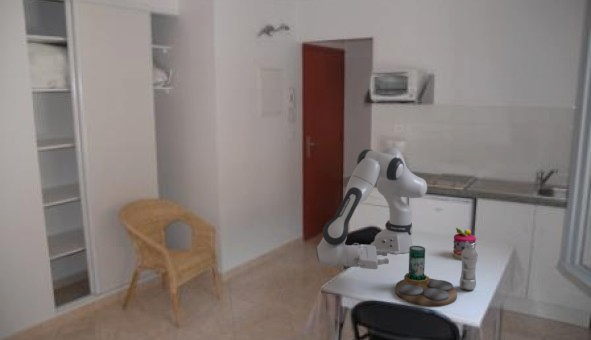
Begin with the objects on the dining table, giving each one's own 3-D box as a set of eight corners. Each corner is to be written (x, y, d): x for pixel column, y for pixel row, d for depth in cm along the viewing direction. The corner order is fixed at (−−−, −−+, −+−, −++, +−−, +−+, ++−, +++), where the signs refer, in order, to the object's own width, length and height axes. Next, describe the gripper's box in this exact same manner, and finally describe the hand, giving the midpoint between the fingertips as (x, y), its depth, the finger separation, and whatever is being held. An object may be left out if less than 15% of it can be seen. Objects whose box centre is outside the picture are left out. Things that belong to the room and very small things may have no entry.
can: (412, 285, 195) (413, 250, 192) (406, 280, 201) (407, 246, 198) (426, 284, 196) (427, 249, 194) (419, 278, 202) (420, 245, 200)
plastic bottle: (455, 288, 197) (458, 242, 194) (465, 284, 201) (467, 239, 198) (469, 293, 192) (472, 246, 189) (479, 289, 196) (481, 242, 193)
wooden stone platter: (388, 299, 187) (388, 288, 186) (403, 278, 208) (403, 268, 207) (451, 311, 176) (452, 299, 175) (460, 288, 197) (461, 277, 196)
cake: (464, 252, 241) (466, 224, 239) (479, 259, 231) (481, 229, 229) (448, 255, 237) (449, 226, 235) (462, 262, 227) (464, 232, 225)
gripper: (354, 257, 189) (389, 258, 187) (354, 241, 209) (386, 242, 207) (354, 272, 190) (389, 273, 188) (354, 255, 210) (386, 256, 208)
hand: (387, 257), depth 198 cm, fingers open, 8 cm apart
